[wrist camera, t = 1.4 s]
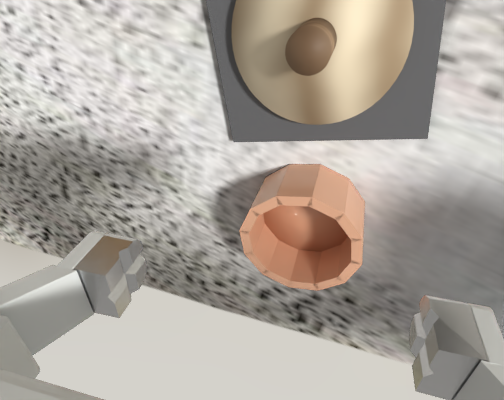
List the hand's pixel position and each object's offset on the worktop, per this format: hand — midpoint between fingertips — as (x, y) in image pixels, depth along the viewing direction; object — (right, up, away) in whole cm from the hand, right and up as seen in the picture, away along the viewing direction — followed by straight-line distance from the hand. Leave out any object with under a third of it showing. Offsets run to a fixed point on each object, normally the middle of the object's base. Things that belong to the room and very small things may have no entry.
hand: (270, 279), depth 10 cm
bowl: (+6, +1, +29) cm, 30 cm away
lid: (+5, +15, +18) cm, 24 cm away
